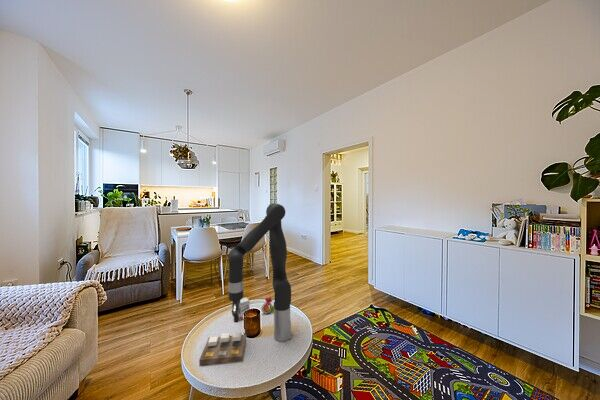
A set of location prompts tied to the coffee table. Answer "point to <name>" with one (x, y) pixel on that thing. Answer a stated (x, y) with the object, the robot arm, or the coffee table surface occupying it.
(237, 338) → the key
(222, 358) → the switch board
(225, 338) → the middle key
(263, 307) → the bird rattle
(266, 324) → the coffee table surface
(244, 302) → the ink box
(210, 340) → the key
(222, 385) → the coffee table surface
